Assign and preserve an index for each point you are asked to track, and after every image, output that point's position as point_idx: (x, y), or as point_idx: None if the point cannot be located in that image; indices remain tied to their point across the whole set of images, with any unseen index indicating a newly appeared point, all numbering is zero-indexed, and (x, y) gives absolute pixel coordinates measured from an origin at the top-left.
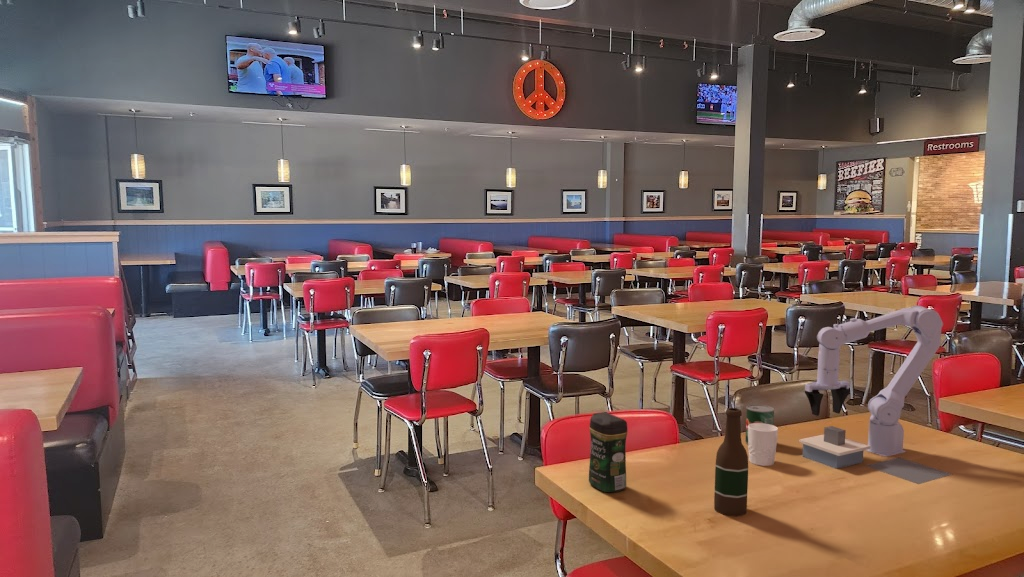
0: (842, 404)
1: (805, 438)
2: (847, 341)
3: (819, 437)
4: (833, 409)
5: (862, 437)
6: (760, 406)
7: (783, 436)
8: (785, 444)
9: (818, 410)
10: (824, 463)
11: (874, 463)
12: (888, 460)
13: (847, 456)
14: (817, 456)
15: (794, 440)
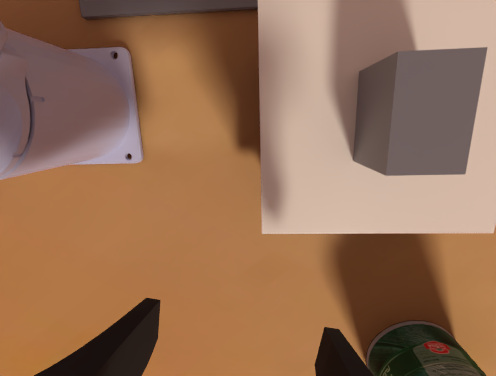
0: (99, 338)
1: (448, 230)
2: None
3: (370, 210)
4: (151, 350)
5: (28, 249)
6: None
7: (272, 366)
8: (339, 315)
9: (354, 355)
10: None
11: (242, 5)
12: (156, 5)
13: None
14: None
15: (274, 327)
